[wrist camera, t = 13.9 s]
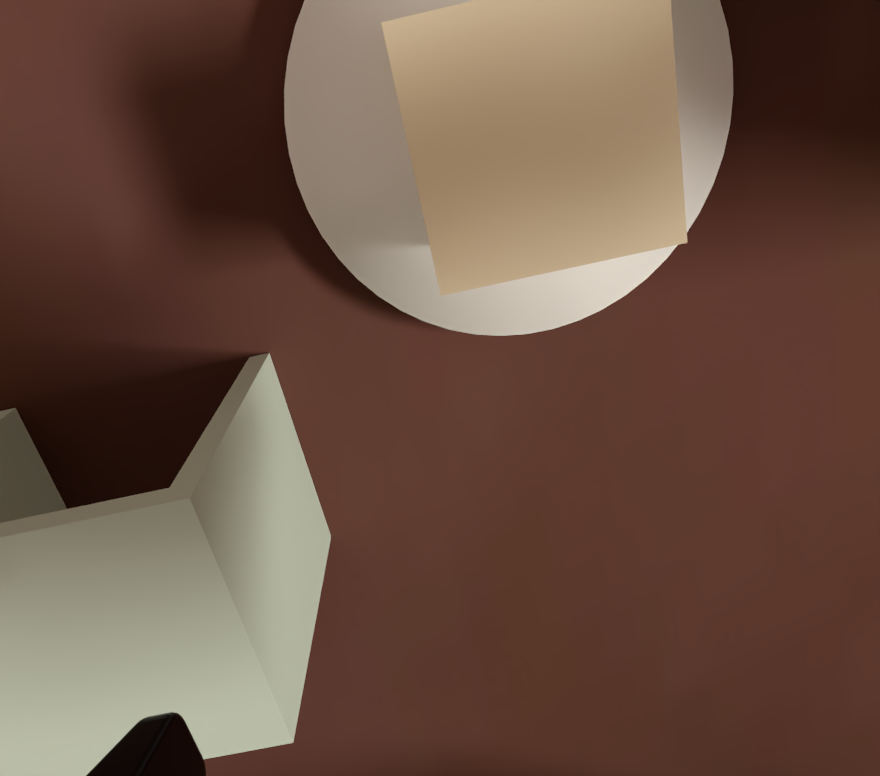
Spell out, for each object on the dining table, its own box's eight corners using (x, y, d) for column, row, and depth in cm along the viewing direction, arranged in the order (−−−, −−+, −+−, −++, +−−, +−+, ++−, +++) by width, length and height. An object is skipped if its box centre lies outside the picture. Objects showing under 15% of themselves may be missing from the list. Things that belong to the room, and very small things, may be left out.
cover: (331, 536, 19) (293, 742, 13) (87, 586, 19) (-59, 808, 13) (269, 352, 17) (190, 498, 11) (-4, 411, 17) (-227, 583, 11)
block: (618, 204, 15) (687, 242, 11) (433, 244, 15) (441, 295, 11) (595, -8, 13) (667, -45, 9) (389, 41, 13) (381, 22, 10)
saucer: (801, 82, 15) (827, 81, 14) (525, 391, 17) (531, 408, 16) (473, -259, 12) (478, -286, 11) (211, 160, 15) (198, 165, 14)
